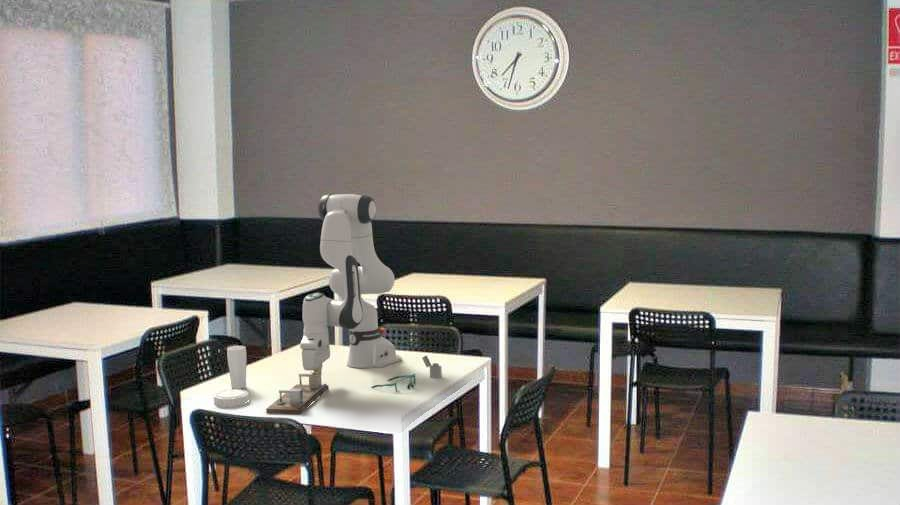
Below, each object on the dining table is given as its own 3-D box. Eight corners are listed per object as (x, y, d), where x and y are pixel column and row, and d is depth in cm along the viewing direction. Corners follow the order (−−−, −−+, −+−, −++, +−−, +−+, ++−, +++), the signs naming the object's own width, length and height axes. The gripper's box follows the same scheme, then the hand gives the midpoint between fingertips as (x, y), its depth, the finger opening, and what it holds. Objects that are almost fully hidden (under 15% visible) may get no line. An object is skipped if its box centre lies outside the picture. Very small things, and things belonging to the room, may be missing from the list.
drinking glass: (251, 385, 365) (249, 346, 363) (242, 390, 359) (239, 350, 357) (235, 384, 367) (233, 345, 365) (225, 389, 361) (223, 349, 359)
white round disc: (208, 402, 346) (207, 392, 345) (240, 396, 353) (239, 386, 353) (223, 410, 336) (222, 399, 336) (255, 403, 344) (254, 393, 343)
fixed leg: (302, 385, 358) (301, 371, 357) (326, 385, 356) (326, 372, 356) (274, 408, 331) (273, 393, 330) (300, 408, 329) (299, 394, 328)
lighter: (441, 377, 369) (441, 356, 368) (440, 378, 368) (439, 357, 367) (424, 375, 372) (423, 354, 371) (422, 376, 370) (421, 356, 369)
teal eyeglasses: (402, 394, 349) (400, 380, 349) (368, 393, 357) (366, 379, 356) (424, 384, 361) (422, 371, 360) (390, 383, 369) (388, 370, 368)
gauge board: (296, 388, 360) (296, 384, 359) (328, 389, 357) (328, 384, 357) (266, 413, 331) (266, 408, 330) (300, 414, 328) (300, 409, 328)
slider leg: (301, 385, 357) (300, 369, 356) (321, 386, 355) (320, 370, 354) (298, 387, 354) (297, 372, 353) (319, 388, 352) (318, 372, 351)
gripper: (317, 332, 366) (318, 369, 368) (298, 345, 346) (300, 383, 348) (333, 332, 365) (335, 369, 366) (315, 345, 345) (317, 384, 346)
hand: (318, 376), depth 357 cm, fingers closed
